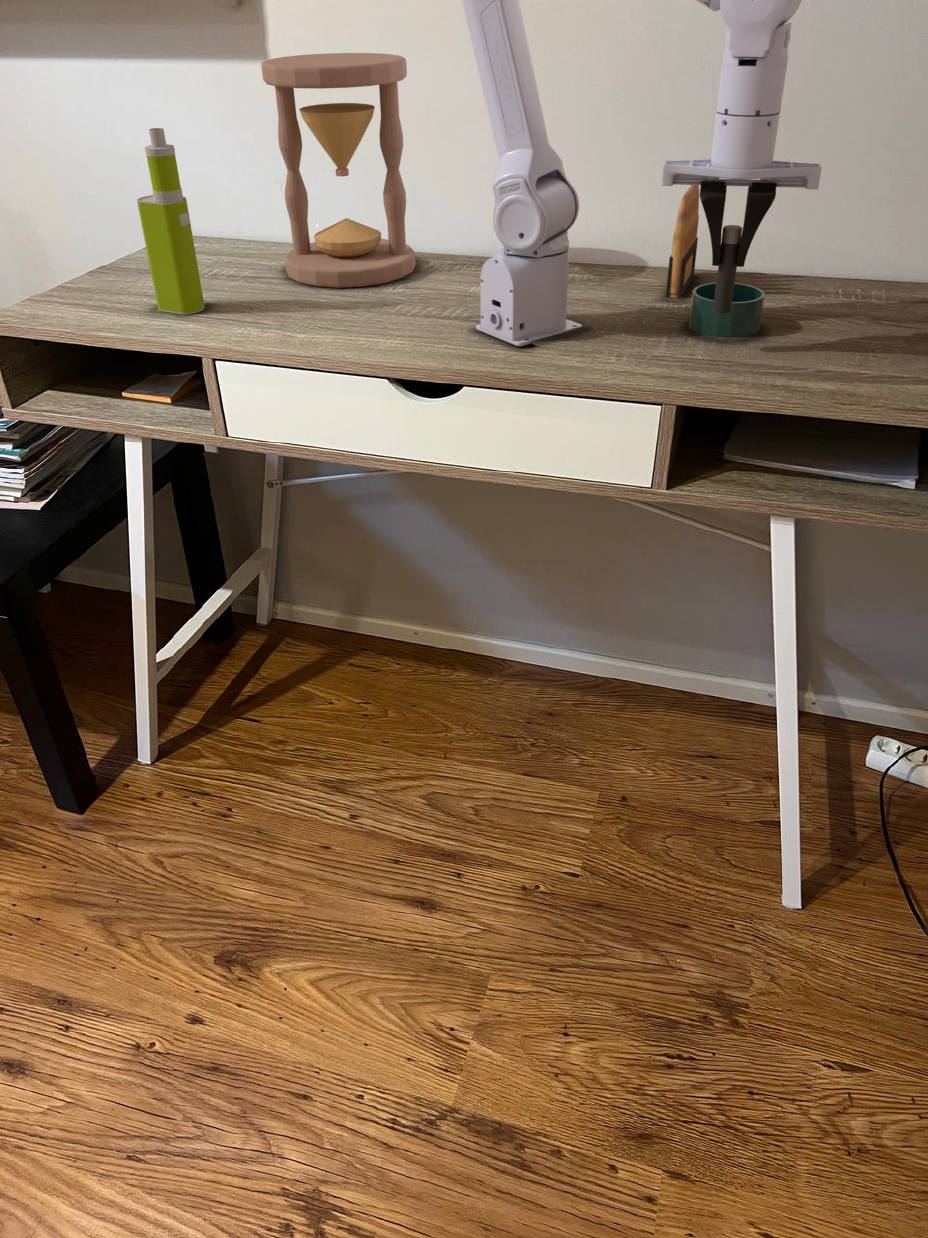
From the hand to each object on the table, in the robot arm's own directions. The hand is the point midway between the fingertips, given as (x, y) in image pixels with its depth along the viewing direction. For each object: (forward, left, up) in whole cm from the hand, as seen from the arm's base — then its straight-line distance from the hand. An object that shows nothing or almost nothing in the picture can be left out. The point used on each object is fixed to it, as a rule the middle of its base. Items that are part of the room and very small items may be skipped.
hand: (728, 263), depth 98 cm
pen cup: (+7, +5, -9) cm, 13 cm away
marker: (0, 0, -5) cm, 5 cm away
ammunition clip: (+15, +19, -10) cm, 26 cm away
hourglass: (-12, +54, -10) cm, 56 cm away
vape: (-37, +53, -10) cm, 65 cm away
